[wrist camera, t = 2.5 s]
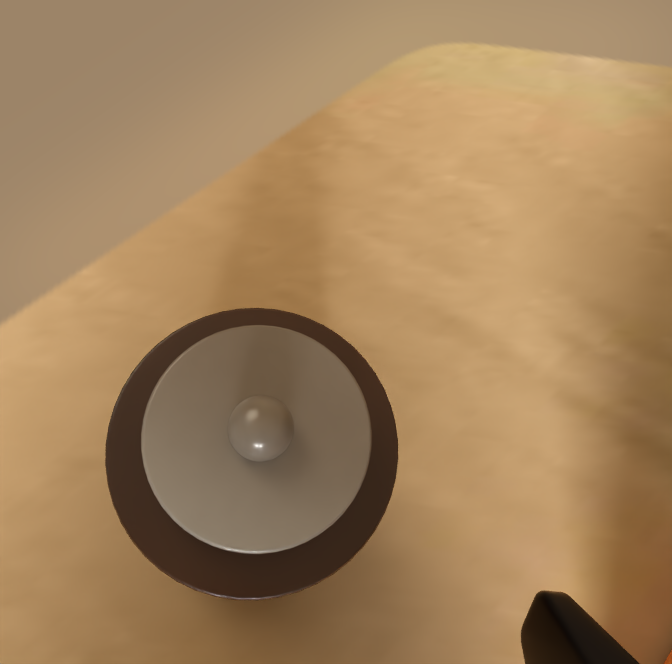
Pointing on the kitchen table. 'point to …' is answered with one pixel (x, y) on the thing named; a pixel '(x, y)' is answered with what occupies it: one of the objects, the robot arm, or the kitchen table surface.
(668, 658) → the drawer
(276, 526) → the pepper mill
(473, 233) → the kitchen table surface
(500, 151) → the kitchen table surface
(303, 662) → the kitchen table surface
